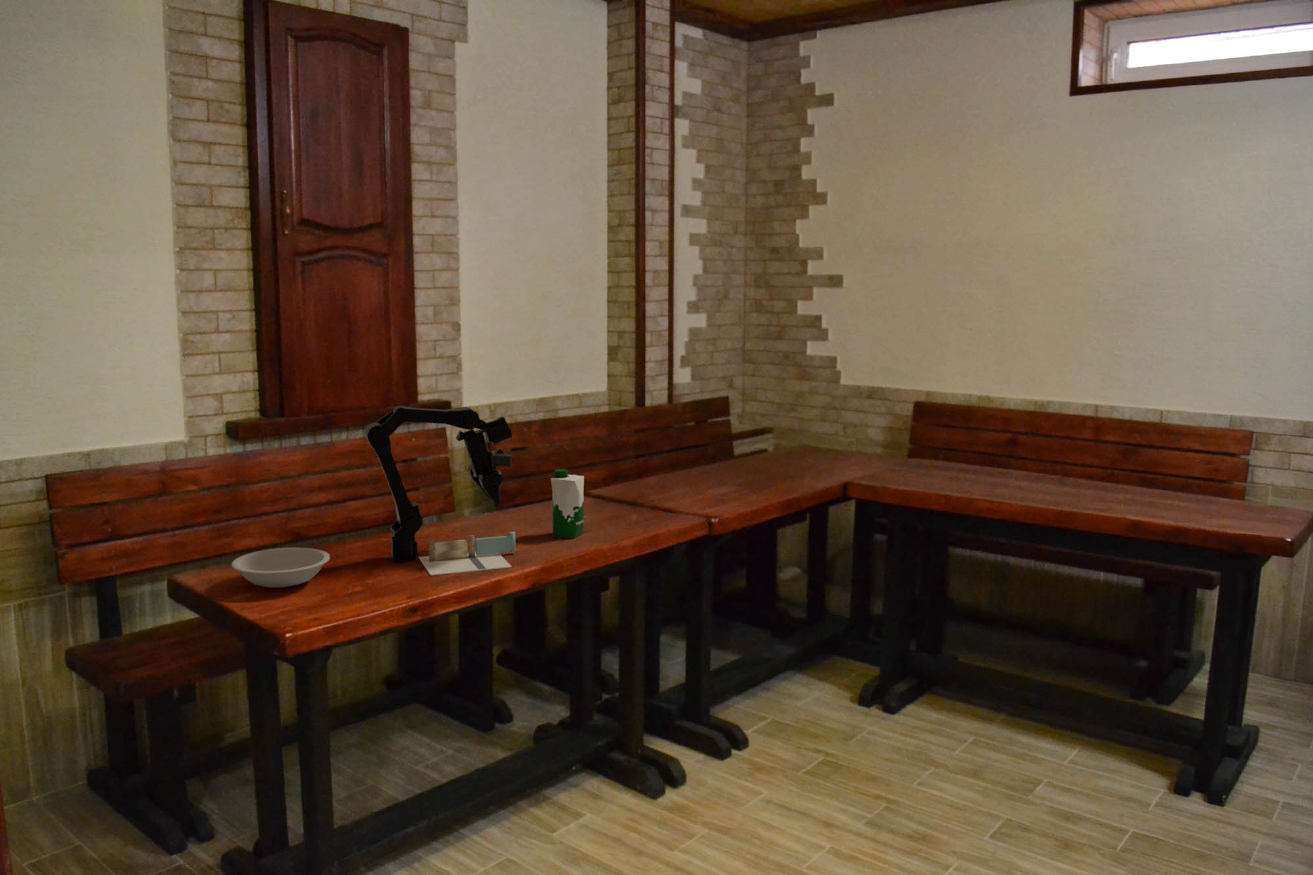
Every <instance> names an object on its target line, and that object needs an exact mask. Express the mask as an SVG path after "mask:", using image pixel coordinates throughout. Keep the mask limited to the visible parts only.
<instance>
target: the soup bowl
mask: <svg viewBox="0 0 1313 875" xmlns="http://www.w3.org/2000/svg"><path fill="white" fill-rule="evenodd" d="M330 559H331V556H330V553H328V552H326V551H325V550H322V549H318V548H317V549H316V548H313V547H312V548H310V547H280V548H278V547H277V548H269V549H262V550H259V551H253V552H251V553H245V554H243V555H241V556H239V557H237V558H235V559H234V560H233V561H232V562H231V567H232V568H233V569H234V570H235V571H238V572H239V573H240V574H241V576H242V577H243V578H245V580H246V581H249V583H252V584H253V585H256V586H259V587H264V588H286V587H293V586H297V585H300V584H304V583H306V582H308V581H309V580H311V579H313V577H315V576H316V575H317V574H318V573H319V571H321V569H322V568H323V565H325V563H328V561H330Z"/></svg>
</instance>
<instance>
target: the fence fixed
mask: <svg viewBox="0 0 1313 875" xmlns="http://www.w3.org/2000/svg"><path fill="white" fill-rule="evenodd" d="M475 552H476V538H475V535H473V534H471V535H468V536H467V539H457V540H447V541H436V539H435V538H429V539H428V556H429V561H437V560H447V559H457V558H468V554H469V557H475Z"/></svg>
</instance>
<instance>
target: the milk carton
mask: <svg viewBox="0 0 1313 875" xmlns="http://www.w3.org/2000/svg"><path fill="white" fill-rule="evenodd" d="M550 483H551V484H550V485H551V489H552V490H551V491H552V537H553V538H562V539H563V538H565V539H576V538H578V537H579V536H581V535H583V534H584V527H585V526H584V523H585V522H584V521H585V520H584V519H585V518H584V512H585V511H584V509H585V508H584V507H585V506H584V502H585V501H584V497H585V496H584V486H585V476H584V475H577V474H569V470H568V469H566V468H557V469H554V476H553V477H551V478H550Z"/></svg>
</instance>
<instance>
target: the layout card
mask: <svg viewBox="0 0 1313 875" xmlns="http://www.w3.org/2000/svg"><path fill="white" fill-rule="evenodd" d="M418 559H419V561H420V563H421V564H422V565H423V567H424V568H425V570H426V571H427V572H428V574H429V576H431V577H432V576H443V575H452V574H463V573H471V572H481V571H490V570H501V569H511V568H512V565H511V564H510V563H509V562H508V561H507V560H506V559H505V558H504V557H503V556H502V555H501V553H498V554H488V555H476V551H475V557H469V554H468V558H457V559H447V560H437V561H429V555H427V556H426V555H425V556H419V557H418Z"/></svg>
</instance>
